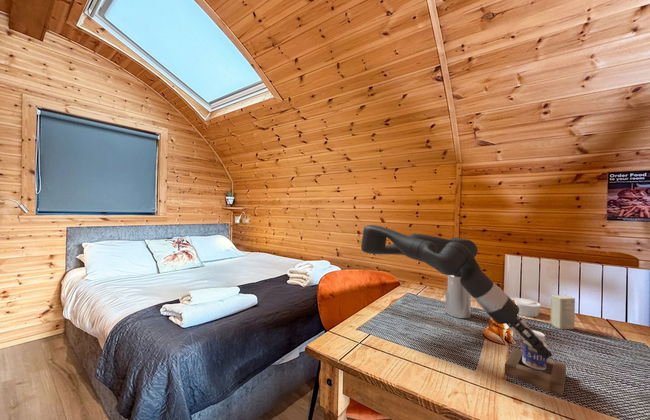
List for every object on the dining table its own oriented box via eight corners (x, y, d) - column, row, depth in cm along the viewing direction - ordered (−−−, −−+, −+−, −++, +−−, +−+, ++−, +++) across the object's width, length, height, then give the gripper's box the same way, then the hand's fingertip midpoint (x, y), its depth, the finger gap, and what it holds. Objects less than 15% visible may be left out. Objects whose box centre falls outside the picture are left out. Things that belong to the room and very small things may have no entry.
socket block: (504, 374, 74) (504, 363, 74) (513, 358, 82) (513, 348, 82) (562, 396, 65) (563, 384, 65) (565, 375, 74) (566, 364, 74)
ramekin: (542, 320, 113) (542, 307, 113) (510, 314, 119) (510, 302, 119) (538, 312, 122) (538, 300, 122) (509, 307, 128) (509, 296, 128)
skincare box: (564, 324, 109) (565, 294, 109) (575, 329, 104) (575, 298, 104) (549, 324, 108) (550, 294, 108) (559, 329, 104) (560, 298, 104)
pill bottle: (526, 367, 72) (527, 334, 72) (519, 358, 77) (520, 327, 77) (550, 372, 70) (551, 338, 70) (541, 362, 75) (543, 330, 75)
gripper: (476, 302, 84) (519, 346, 81) (493, 319, 70) (545, 374, 67) (496, 286, 83) (540, 331, 79) (517, 302, 69) (571, 356, 66)
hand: (542, 350), depth 73 cm, fingers closed on pill bottle, 5 cm apart
